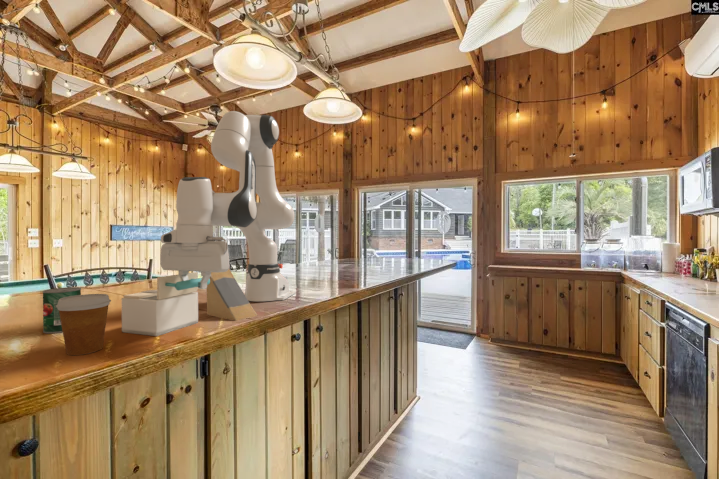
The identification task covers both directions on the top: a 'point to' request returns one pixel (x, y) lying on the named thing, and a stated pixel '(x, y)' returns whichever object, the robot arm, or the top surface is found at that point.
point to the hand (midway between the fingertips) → (194, 288)
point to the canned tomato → (51, 311)
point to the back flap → (142, 294)
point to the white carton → (159, 314)
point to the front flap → (177, 285)
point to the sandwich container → (227, 298)
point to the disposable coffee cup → (83, 322)
